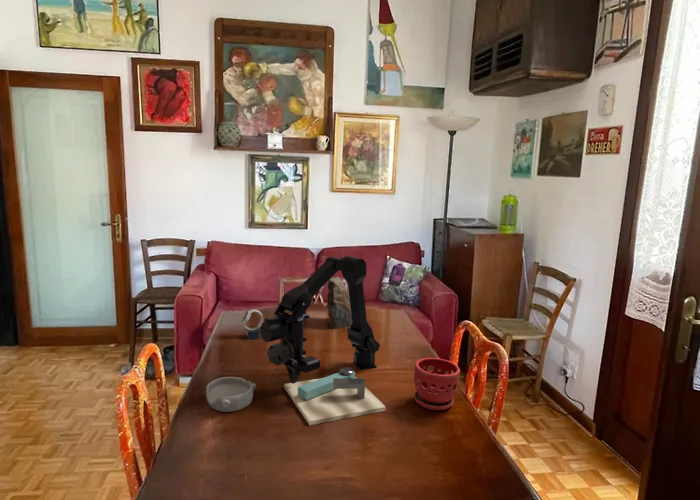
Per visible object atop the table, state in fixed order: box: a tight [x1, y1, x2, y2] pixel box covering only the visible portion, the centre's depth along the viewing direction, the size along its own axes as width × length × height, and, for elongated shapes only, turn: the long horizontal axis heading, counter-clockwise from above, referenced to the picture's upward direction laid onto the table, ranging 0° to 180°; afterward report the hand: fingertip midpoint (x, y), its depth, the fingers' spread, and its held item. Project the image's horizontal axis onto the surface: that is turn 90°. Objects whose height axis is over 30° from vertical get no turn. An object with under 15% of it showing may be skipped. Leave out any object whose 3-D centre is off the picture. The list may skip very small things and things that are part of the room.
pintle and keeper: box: [333, 366, 366, 399], centre depth 154 cm, size 14×9×5 cm, turn 4°
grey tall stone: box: [326, 275, 352, 330], centre depth 217 cm, size 13×13×20 cm
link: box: [298, 370, 356, 400], centre depth 154 cm, size 21×5×2 cm, turn 134°
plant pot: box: [413, 357, 461, 411], centre depth 149 cm, size 13×13×12 cm
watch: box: [241, 308, 264, 341], centre depth 198 cm, size 6×8×11 cm
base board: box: [283, 376, 387, 426], centre depth 150 cm, size 23×24×1 cm
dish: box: [205, 376, 257, 413], centre depth 147 cm, size 14×14×5 cm
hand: (293, 383), depth 154 cm, fingers closed
